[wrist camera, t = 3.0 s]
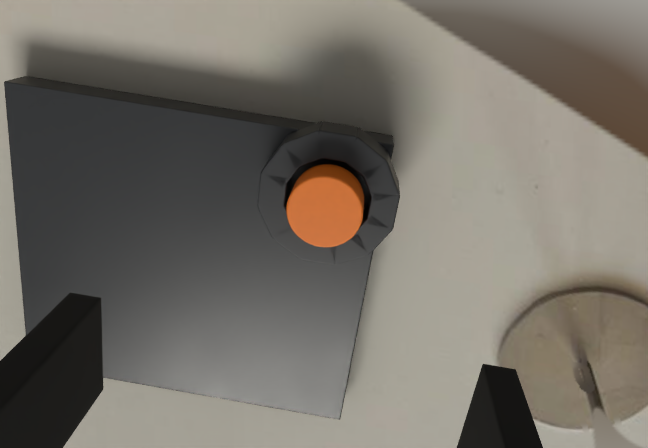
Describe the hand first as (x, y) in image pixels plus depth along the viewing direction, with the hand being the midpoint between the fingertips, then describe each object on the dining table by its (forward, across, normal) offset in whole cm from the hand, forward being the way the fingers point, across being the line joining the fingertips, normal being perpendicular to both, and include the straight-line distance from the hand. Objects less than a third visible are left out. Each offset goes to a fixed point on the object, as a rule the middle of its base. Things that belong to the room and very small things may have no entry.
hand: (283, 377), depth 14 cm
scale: (+15, -6, -6) cm, 18 cm away
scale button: (+12, 0, 0) cm, 12 cm away
